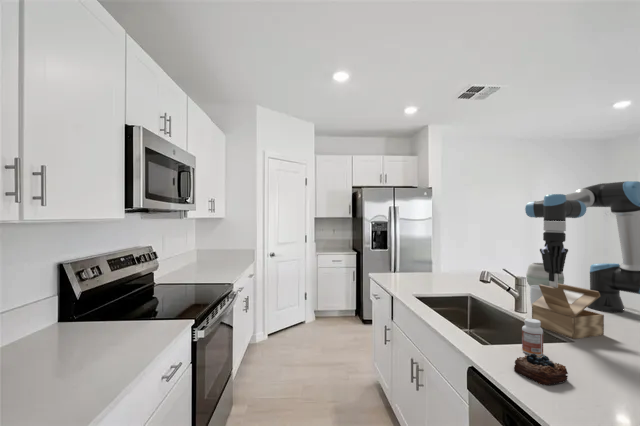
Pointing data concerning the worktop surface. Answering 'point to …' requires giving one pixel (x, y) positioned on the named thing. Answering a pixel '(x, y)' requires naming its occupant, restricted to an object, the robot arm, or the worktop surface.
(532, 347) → the pill bottle
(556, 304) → the lid
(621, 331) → the worktop surface
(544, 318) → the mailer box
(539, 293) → the mug
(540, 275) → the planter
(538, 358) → the pastry
